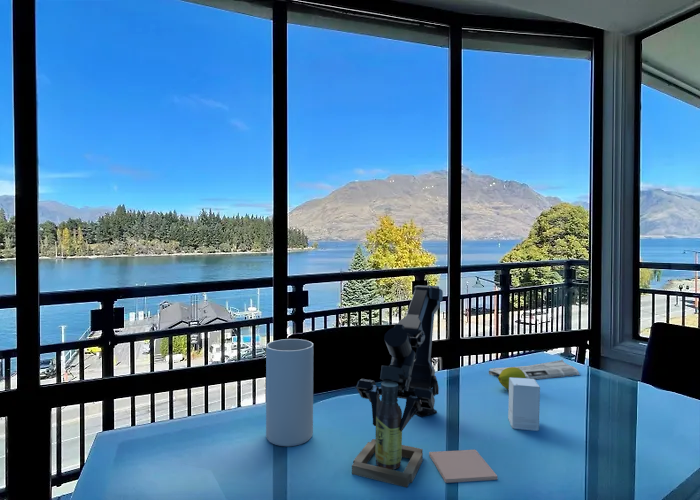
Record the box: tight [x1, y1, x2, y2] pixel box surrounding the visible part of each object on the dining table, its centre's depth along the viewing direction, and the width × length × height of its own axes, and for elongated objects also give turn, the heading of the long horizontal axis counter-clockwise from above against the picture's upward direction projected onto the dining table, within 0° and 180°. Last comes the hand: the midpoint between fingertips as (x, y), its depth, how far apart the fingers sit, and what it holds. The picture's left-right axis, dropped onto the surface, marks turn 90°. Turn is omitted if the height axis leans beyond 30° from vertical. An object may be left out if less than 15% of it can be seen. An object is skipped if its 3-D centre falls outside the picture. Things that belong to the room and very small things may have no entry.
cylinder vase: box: [265, 338, 314, 447], centre depth 116 cm, size 12×12×25 cm
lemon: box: [497, 366, 526, 391], centre depth 153 cm, size 11×8×8 cm
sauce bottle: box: [374, 381, 403, 470], centre depth 102 cm, size 6×6×20 cm
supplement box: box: [507, 378, 541, 432], centre depth 125 cm, size 7×7×13 cm
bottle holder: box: [351, 438, 424, 488], centre depth 102 cm, size 14×14×2 cm
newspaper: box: [488, 359, 580, 381], centre depth 171 cm, size 35×12×4 cm, turn 105°
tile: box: [428, 449, 498, 484], centre depth 102 cm, size 12×12×1 cm
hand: (387, 427), depth 101 cm, fingers closed on sauce bottle, 6 cm apart
